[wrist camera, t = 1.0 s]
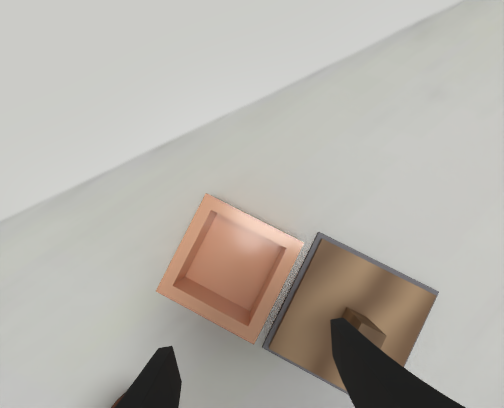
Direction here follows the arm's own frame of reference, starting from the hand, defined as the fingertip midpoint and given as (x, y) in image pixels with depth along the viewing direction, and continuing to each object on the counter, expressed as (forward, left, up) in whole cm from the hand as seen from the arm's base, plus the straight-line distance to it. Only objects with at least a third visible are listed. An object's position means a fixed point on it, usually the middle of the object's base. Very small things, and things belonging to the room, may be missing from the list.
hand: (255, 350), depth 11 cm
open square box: (+3, 0, -16) cm, 17 cm away
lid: (-11, 0, -16) cm, 19 cm away
